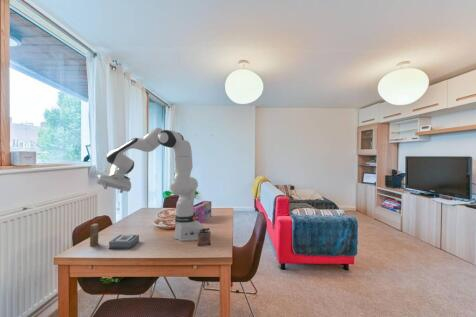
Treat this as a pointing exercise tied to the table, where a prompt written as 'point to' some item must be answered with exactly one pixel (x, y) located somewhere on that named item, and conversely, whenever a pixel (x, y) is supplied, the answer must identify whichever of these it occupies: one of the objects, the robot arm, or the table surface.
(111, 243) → the grey flat square block
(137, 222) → the table surface
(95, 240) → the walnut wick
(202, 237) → the lighter
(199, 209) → the gum box
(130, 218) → the table surface
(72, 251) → the table surface
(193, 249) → the table surface
